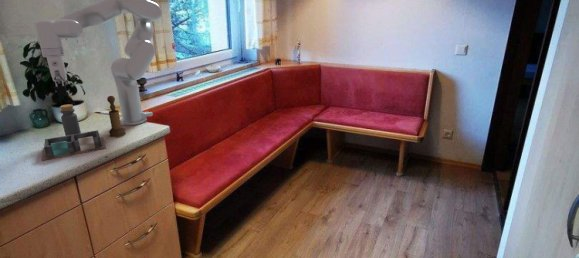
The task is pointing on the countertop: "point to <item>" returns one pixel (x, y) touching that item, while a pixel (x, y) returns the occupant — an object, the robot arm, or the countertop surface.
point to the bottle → (69, 120)
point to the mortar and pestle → (115, 120)
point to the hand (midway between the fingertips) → (62, 93)
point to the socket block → (72, 145)
